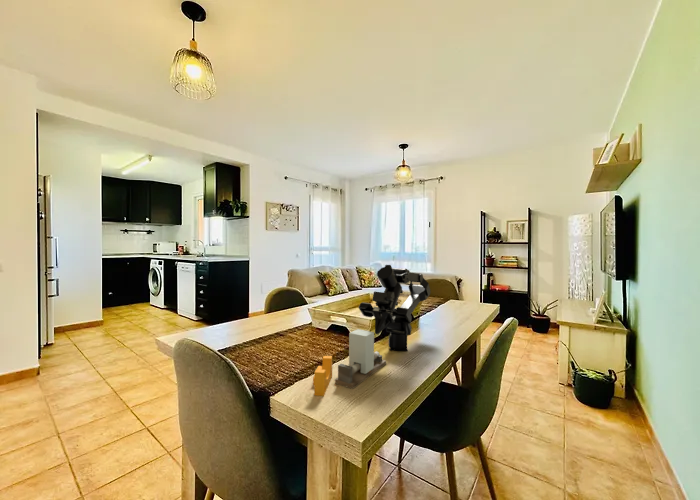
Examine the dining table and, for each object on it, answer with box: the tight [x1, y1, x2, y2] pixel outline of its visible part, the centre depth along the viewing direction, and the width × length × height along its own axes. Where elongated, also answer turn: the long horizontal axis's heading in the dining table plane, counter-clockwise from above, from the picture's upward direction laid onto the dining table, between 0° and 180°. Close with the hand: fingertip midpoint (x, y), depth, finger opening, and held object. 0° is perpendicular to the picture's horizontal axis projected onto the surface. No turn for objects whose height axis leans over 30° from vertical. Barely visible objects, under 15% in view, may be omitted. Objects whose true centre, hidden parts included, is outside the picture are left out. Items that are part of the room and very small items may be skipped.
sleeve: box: [348, 328, 375, 374], centre depth 94 cm, size 5×6×11 cm
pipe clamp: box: [312, 355, 333, 397], centre depth 86 cm, size 12×4×6 cm, turn 173°
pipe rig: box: [334, 350, 387, 390], centre depth 95 cm, size 21×6×6 cm, turn 146°
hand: (376, 333), depth 102 cm, fingers closed
